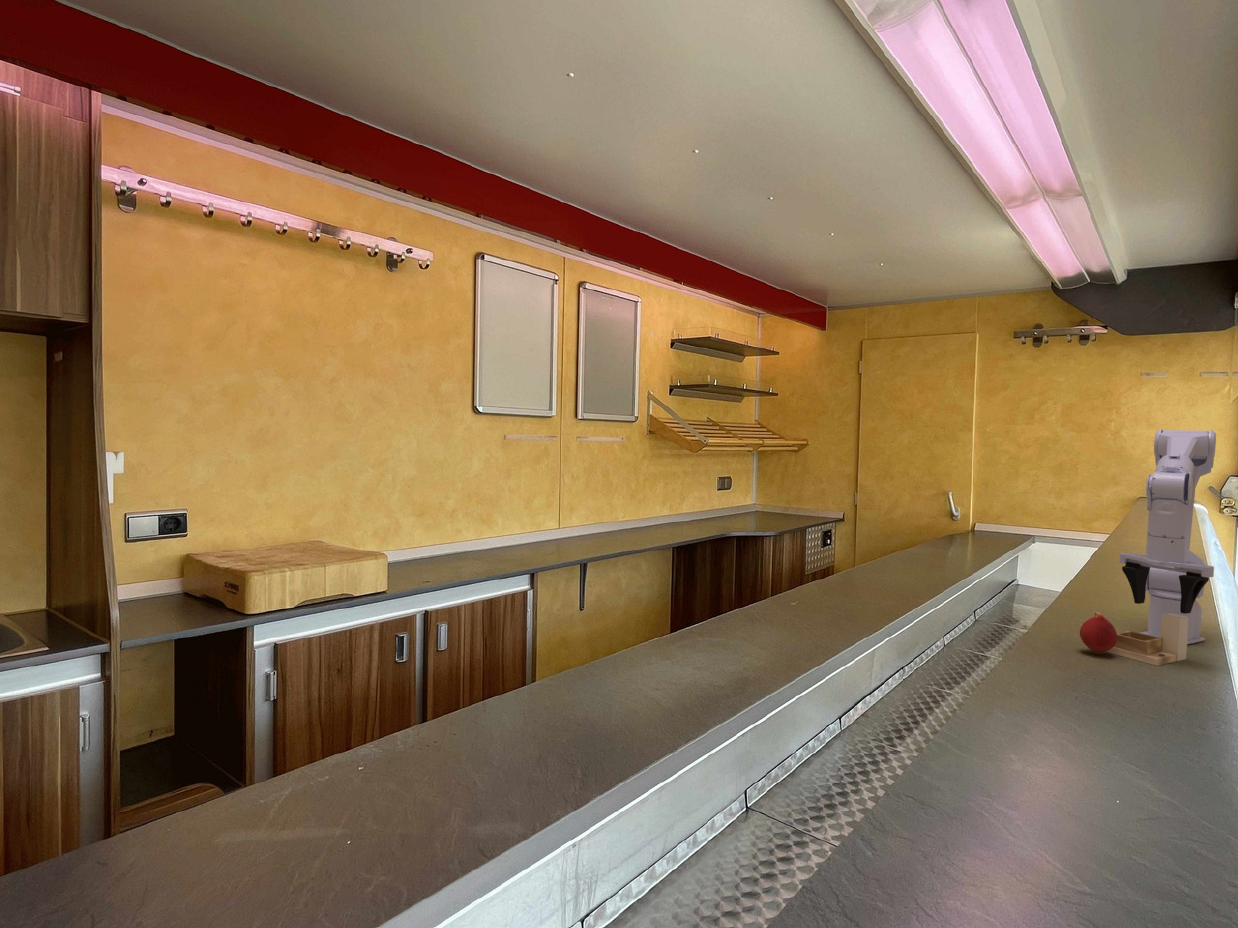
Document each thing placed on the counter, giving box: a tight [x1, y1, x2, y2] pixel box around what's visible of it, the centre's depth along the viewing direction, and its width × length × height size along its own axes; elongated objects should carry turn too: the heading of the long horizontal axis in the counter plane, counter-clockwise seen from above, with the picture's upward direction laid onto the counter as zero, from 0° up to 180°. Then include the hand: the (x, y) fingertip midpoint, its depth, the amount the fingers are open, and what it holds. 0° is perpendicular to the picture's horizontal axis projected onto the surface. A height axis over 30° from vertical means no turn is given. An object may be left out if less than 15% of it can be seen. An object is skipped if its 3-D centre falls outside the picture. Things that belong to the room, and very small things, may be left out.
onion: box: [1079, 611, 1118, 655], centre depth 132 cm, size 6×6×8 cm
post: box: [1160, 613, 1189, 662], centre depth 131 cm, size 3×3×8 cm
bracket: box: [1105, 630, 1177, 667], centre depth 132 cm, size 6×10×4 cm, turn 27°
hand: (1161, 607), depth 131 cm, fingers open, 7 cm apart
